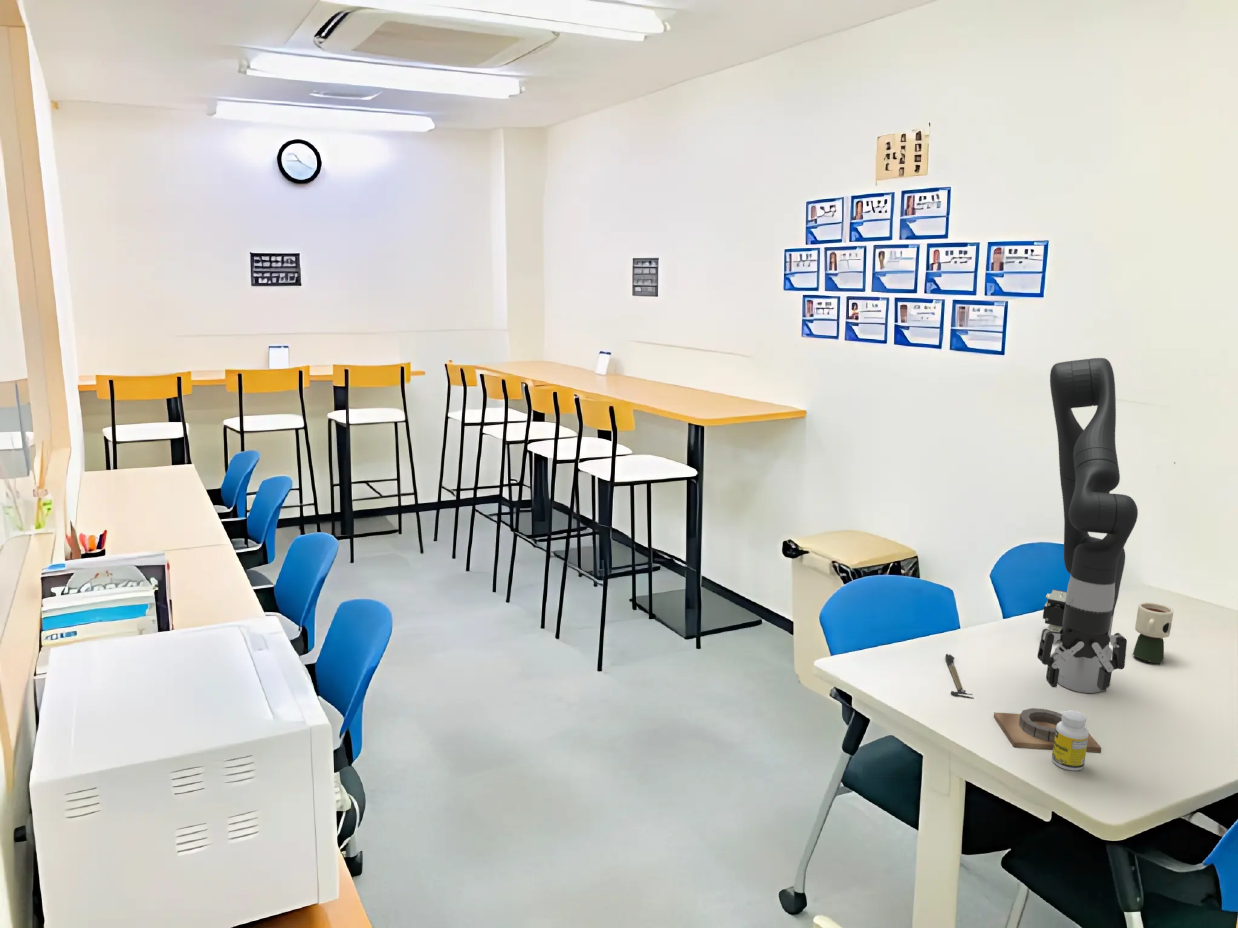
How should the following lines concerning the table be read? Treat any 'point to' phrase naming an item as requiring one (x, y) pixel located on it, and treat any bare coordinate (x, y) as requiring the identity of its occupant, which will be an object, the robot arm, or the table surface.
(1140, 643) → the character mug
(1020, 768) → the table surface
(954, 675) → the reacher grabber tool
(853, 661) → the table surface
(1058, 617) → the pneumatic valve
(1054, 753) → the supplement bottle
